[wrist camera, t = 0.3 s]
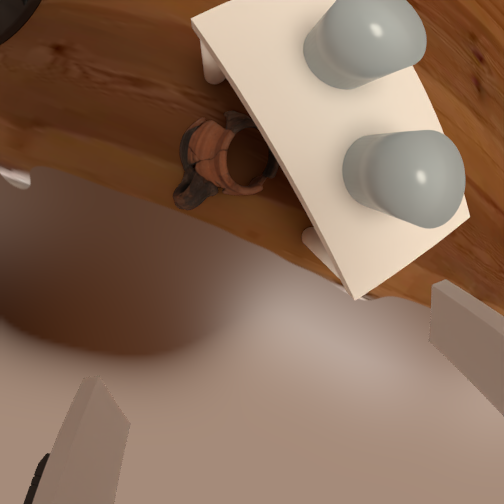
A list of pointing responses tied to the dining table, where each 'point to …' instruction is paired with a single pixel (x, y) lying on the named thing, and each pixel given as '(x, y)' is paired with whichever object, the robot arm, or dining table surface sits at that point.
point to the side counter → (320, 131)
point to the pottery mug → (214, 161)
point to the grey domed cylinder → (364, 42)
